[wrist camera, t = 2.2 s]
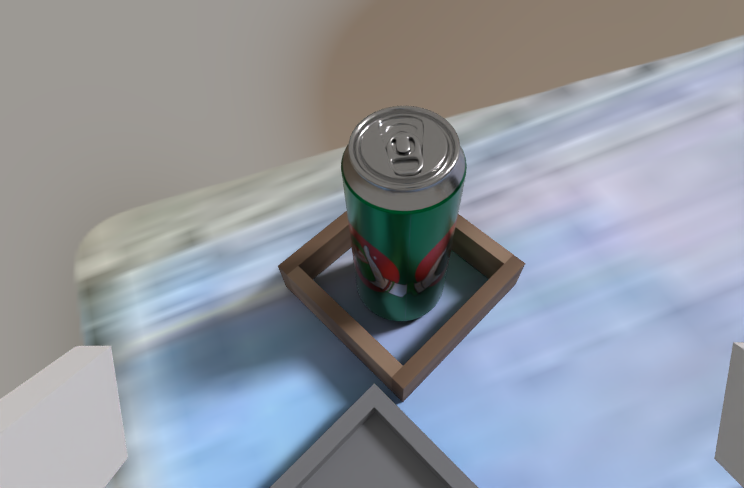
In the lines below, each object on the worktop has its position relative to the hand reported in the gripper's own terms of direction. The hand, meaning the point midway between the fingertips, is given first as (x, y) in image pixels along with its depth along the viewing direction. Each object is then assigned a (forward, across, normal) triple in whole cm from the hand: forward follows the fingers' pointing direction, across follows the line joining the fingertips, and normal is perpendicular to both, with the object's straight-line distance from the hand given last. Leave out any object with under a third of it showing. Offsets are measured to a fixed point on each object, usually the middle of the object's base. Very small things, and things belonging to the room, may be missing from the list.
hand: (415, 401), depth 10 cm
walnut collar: (+18, 0, -3) cm, 19 cm away
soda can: (+18, 0, -4) cm, 19 cm away
